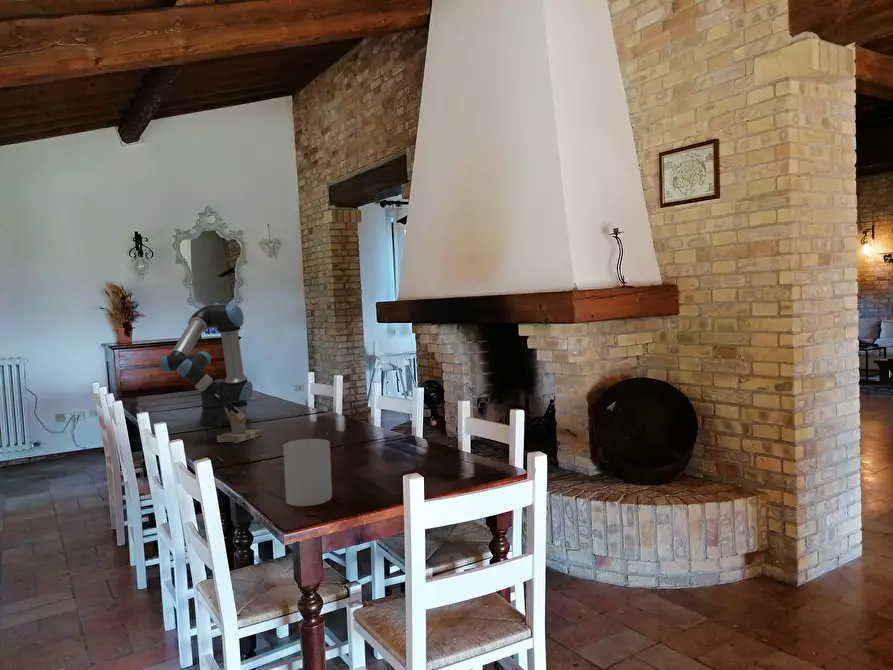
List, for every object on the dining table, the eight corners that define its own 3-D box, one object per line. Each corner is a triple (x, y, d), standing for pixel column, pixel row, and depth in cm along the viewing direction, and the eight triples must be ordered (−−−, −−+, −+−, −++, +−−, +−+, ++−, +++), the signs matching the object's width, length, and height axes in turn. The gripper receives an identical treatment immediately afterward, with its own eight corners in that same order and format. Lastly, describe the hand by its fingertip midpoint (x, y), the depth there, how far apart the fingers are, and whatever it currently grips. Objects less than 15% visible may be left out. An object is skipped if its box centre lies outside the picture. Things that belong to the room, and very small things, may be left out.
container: (296, 509, 196) (293, 451, 195) (278, 498, 208) (275, 443, 207) (339, 499, 204) (337, 443, 204) (320, 490, 216) (317, 436, 215)
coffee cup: (225, 433, 305) (223, 401, 305) (245, 430, 311) (243, 399, 310) (232, 435, 298) (230, 403, 297) (252, 432, 304) (250, 401, 303)
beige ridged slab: (241, 435, 314) (240, 429, 314) (260, 436, 309) (260, 430, 309) (217, 442, 299) (216, 435, 299) (237, 443, 295) (237, 437, 294)
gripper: (203, 389, 310) (237, 417, 316) (200, 395, 287) (237, 425, 292) (214, 377, 312) (248, 405, 317) (212, 382, 288) (249, 413, 293)
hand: (243, 415), depth 304 cm, fingers open, 13 cm apart
